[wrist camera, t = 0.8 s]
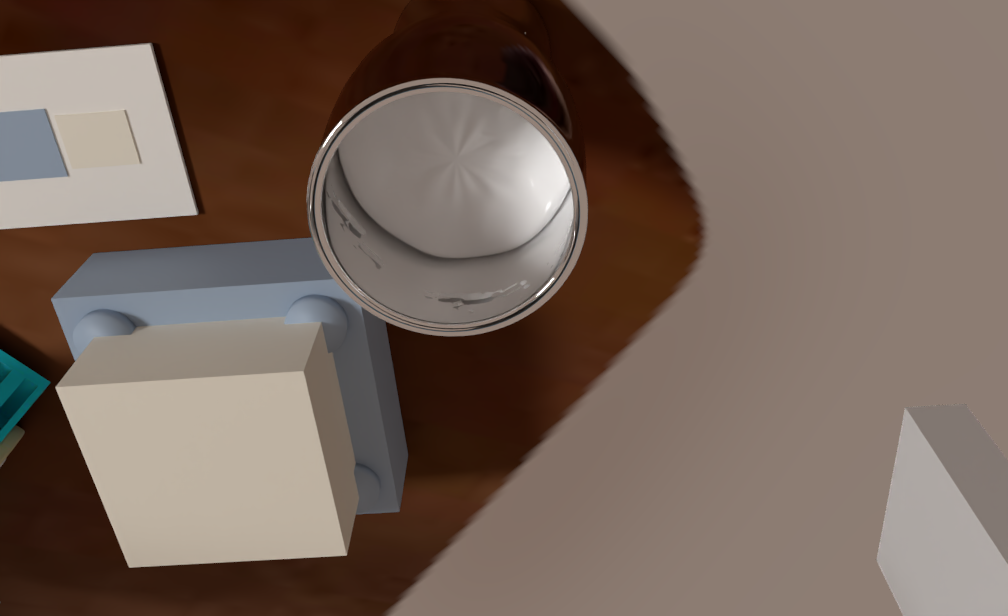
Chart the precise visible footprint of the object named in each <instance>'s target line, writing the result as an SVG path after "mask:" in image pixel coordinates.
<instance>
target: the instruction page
mask: <svg viewBox="0 0 1008 616" xmlns="http://www.w3.org/2000/svg"><path fill="white" fill-rule="evenodd" d="M198 213H199V212H198V208H197V205H196V201H195V197H194V194H193V190H192V187H191V183H190V179H189V176H188V172H187V168H186V165H185V161H184V158H183V154H182V150H181V147H180V143H179V140H178V136H177V132H176V129H175V125H174V121H173V118H172V114H171V111H170V107H169V103H168V100H167V96H166V93H165V89H164V85H163V82H162V78H161V74H160V71H159V67H158V64H157V60H156V56H155V53H154V49H153V45H152V43H145V44H133V45H121V46H108V47H96V48H84V49H72V50H60V51H48V52H36V53H24V54H11V55H0V229H10V228H24V227H38V226H51V225H65V224H78V223H92V222H106V221H119V220H133V219H146V218H160V217H174V216H187V215H197V214H198Z"/></svg>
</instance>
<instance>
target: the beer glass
mask: <svg viewBox="0 0 1008 616" xmlns="http://www.w3.org/2000/svg"><path fill="white" fill-rule="evenodd" d="M307 216H308V223H309V228H310V232H311V236H312V239H313V242H314V245H315V248H316V250H317V252H318V255H319V257H320V259H321V261H322V263H323V264H324V266H325V268H326V269H327V271H328V272H329V274H330V275H331V277H332V278H333V279H334V281H335V282H336V283H337V284H338V285H339V287H340V288H341V289H342V290H343V291H344V292H345V293H346V294H347V295H348V296H349V297H350V298H351V299H353V300H354V301H355V302H356V303H357V304H359V305H360V306H361V307H363V308H364V309H365V310H367V311H368V312H370V313H371V314H373V315H375V316H377V317H378V318H380V319H382V320H384V321H386V322H388V323H391V324H393V325H395V326H398V327H401V328H404V329H407V330H410V331H414V332H418V333H422V334H428V335H435V336H469V335H476V334H481V333H486V332H490V331H494V330H497V329H500V328H503V327H506V326H508V325H510V324H513V323H515V322H517V321H519V320H521V319H523V318H524V317H526V316H528V315H529V314H531V313H532V312H534V311H535V310H537V309H538V308H539V307H541V306H542V305H543V304H544V303H546V302H547V301H548V300H549V299H550V298H551V297H552V296H553V295H554V294H555V293H556V292H557V291H558V290H559V288H560V287H561V286H562V285H563V283H564V282H565V281H566V279H567V278H568V276H569V275H570V273H571V271H572V270H573V268H574V266H575V264H576V262H577V260H578V257H579V255H580V252H581V249H582V246H583V243H584V239H585V235H586V229H587V222H588V200H587V192H586V154H585V146H584V138H583V131H582V126H581V122H580V118H579V115H578V112H577V109H576V106H575V103H574V100H573V97H572V95H571V92H570V90H569V87H568V85H567V83H566V81H565V80H564V78H563V76H562V74H561V73H560V71H559V70H558V69H557V67H556V66H555V64H554V63H553V62H552V61H551V45H550V40H549V36H548V32H547V29H546V27H545V24H544V22H543V20H542V18H541V16H540V14H539V13H538V11H537V10H536V8H535V7H534V6H533V4H532V3H531V2H530V1H529V0H411V1H410V2H409V3H408V4H407V6H406V7H405V8H404V10H403V11H402V13H401V15H400V17H399V19H398V21H397V23H396V26H395V29H394V32H393V34H391V35H390V36H388V37H387V38H385V39H384V40H383V41H381V42H380V43H379V44H378V45H377V46H375V47H374V48H373V49H372V50H371V51H370V52H369V53H368V54H367V55H366V57H365V58H364V59H363V60H362V61H361V63H360V64H359V65H358V67H357V68H356V70H355V71H354V72H353V74H352V75H351V76H350V78H349V79H348V81H347V82H346V84H345V86H344V87H343V89H342V91H341V93H340V95H339V97H338V99H337V101H336V104H335V106H334V108H333V110H332V112H331V114H330V117H329V120H328V123H327V126H326V129H325V132H324V135H323V138H322V141H321V145H320V148H319V150H318V152H317V155H316V157H315V160H314V162H313V165H312V168H311V172H310V176H309V181H308V188H307Z"/></svg>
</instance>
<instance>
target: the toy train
mask: <svg viewBox="0 0 1008 616" xmlns="http://www.w3.org/2000/svg"><path fill="white" fill-rule="evenodd" d="M50 383H51V382H50V381H48V380H47V379H45V378H44V377H42V376H40V375H39V374H37V373H36V372H34V371H33V370H31V369H30V368H28V367H27V366H25V365H24V364H22V363H20V362H19V361H17V360H16V359H14V358H13V357H11V356H10V355H8V354H7V353H5V352H4V351H2V350H1V349H0V467H1V466H2V465H3V463H4V462H5V461H6V457H7V456H8V455H9V454H10V452H11V451H12V450H13V448H14V447H15V446H16V445H17V443H18V442H19V441H20V439H21V438H22V437H23V435H24V433H25V431H24V430H23V429H22V428H20V427H18V426H17V425H16V424H17V422H18V421H19V420H20V419H21V418H22V416H23V415H24V414H25V413H26V412H27V410H28V409H29V408H30V407H31V406H32V405H33V403H34V402H35V401H36V400H37V399H38V397H39V396H40V395H41V394H42V393H43V391H44V390H45V389H46V388H47V387H48V385H49V384H50Z"/></svg>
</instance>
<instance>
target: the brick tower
mask: <svg viewBox="0 0 1008 616" xmlns="http://www.w3.org/2000/svg"><path fill="white" fill-rule="evenodd" d="M51 300H52V303H53V305H54V308H55V311H56V313H57V316H58V318H59V321H60V323H61V326H62V329H63V331H64V334H65V336H66V339H67V341H68V344H69V347H70V349H71V352H72V354H73V357H74V359H75V363H74V364H73V365H72V366H71V368H70V369H69V370H68V371H67V373H66V374H65V375H64V377H63V378H62V379H61V380H60V382H59V383H58V384H57V386H56V387H55V388H56V390H57V393H58V395H59V398H60V400H61V403H62V405H63V408H64V410H65V412H66V415H67V417H68V420H69V422H70V425H71V427H72V430H73V432H74V434H75V437H76V439H77V442H78V444H79V447H80V449H81V452H82V454H83V456H84V459H85V461H86V464H87V466H88V469H89V471H90V474H91V476H92V478H93V481H94V483H95V486H96V488H97V491H98V493H99V495H100V498H101V500H102V503H103V505H104V508H105V510H106V513H107V515H108V517H109V520H110V522H111V525H112V527H113V530H114V532H115V535H116V537H117V539H118V542H119V544H120V547H121V549H122V552H123V554H124V557H125V559H126V561H127V564H128V566H129V568H132V567H150V566H168V565H186V564H204V563H222V562H240V561H258V560H276V559H294V558H312V557H330V556H347V552H348V548H349V543H350V538H351V534H352V529H353V524H354V520H355V515H356V514H371V513H389V512H400V505H401V499H402V492H403V486H404V479H405V473H406V466H407V460H408V450H407V445H406V439H405V433H404V427H403V421H402V416H401V410H400V404H399V398H398V392H397V387H396V381H395V375H394V369H393V363H392V358H391V352H390V346H389V340H388V334H387V329H386V323H385V321H384V320H382V319H380V318H378V317H377V316H375V315H373V314H371V313H370V312H368V311H367V310H365V309H364V308H363V307H361V306H360V305H359V304H357V303H356V302H355V301H354V300H353V299H351V298H350V297H349V296H348V295H347V294H346V293H345V292H344V291H343V290H342V289H341V288H340V287H339V285H338V284H337V283H336V282H335V281H334V279H333V278H332V277H331V275H330V274H329V272H328V271H327V269H326V268H325V266H324V264H323V263H322V261H321V259H320V257H319V255H318V252H317V250H316V248H315V245H314V242H313V239H312V238H300V239H286V240H272V241H258V242H244V243H230V244H216V245H202V246H188V247H174V248H160V249H147V250H133V251H119V252H105V253H93V254H92V255H91V256H90V257H89V259H88V260H87V261H86V262H85V263H84V264H83V265H82V266H81V267H80V268H79V269H78V270H77V271H76V273H75V274H74V275H73V276H72V277H71V278H70V279H69V280H68V281H67V282H66V283H65V284H64V285H63V287H62V288H61V289H60V290H59V291H58V292H57V293H56V294H55V295H54V296H53V297H52V298H51Z"/></svg>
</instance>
